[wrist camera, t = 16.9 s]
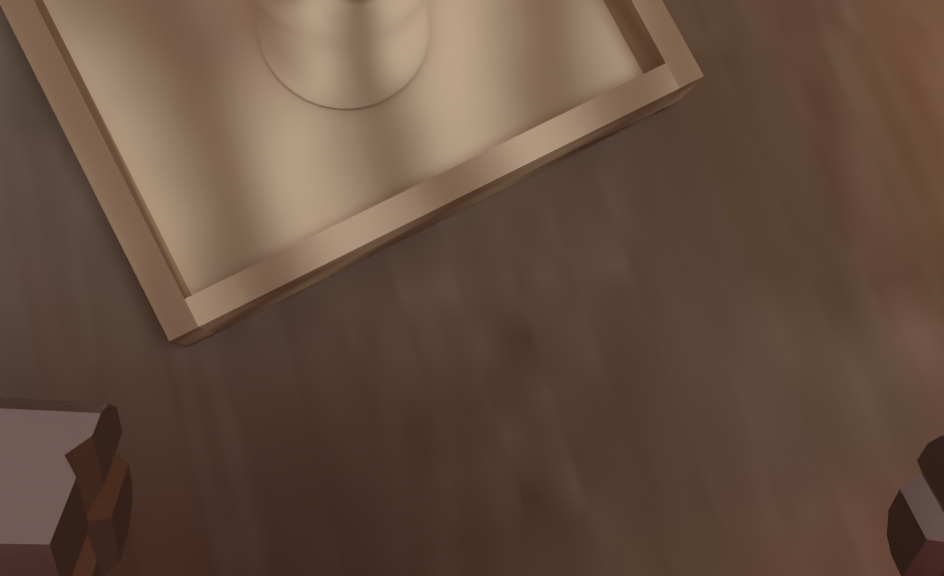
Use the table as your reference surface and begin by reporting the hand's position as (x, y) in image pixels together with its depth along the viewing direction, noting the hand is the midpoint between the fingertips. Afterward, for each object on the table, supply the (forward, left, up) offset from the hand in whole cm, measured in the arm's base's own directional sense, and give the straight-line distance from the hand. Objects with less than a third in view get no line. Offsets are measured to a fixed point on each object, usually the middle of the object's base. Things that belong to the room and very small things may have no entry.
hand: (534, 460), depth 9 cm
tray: (+4, +14, -23) cm, 27 cm away
